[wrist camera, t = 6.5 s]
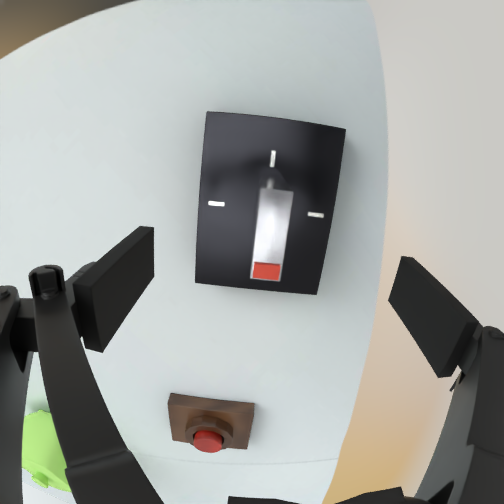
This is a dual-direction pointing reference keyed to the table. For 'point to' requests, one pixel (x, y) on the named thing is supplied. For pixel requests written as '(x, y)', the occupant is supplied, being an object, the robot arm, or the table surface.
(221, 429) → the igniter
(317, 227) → the panel
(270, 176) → the red-tipped metal bar
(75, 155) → the table surface
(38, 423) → the teapot
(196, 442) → the button
